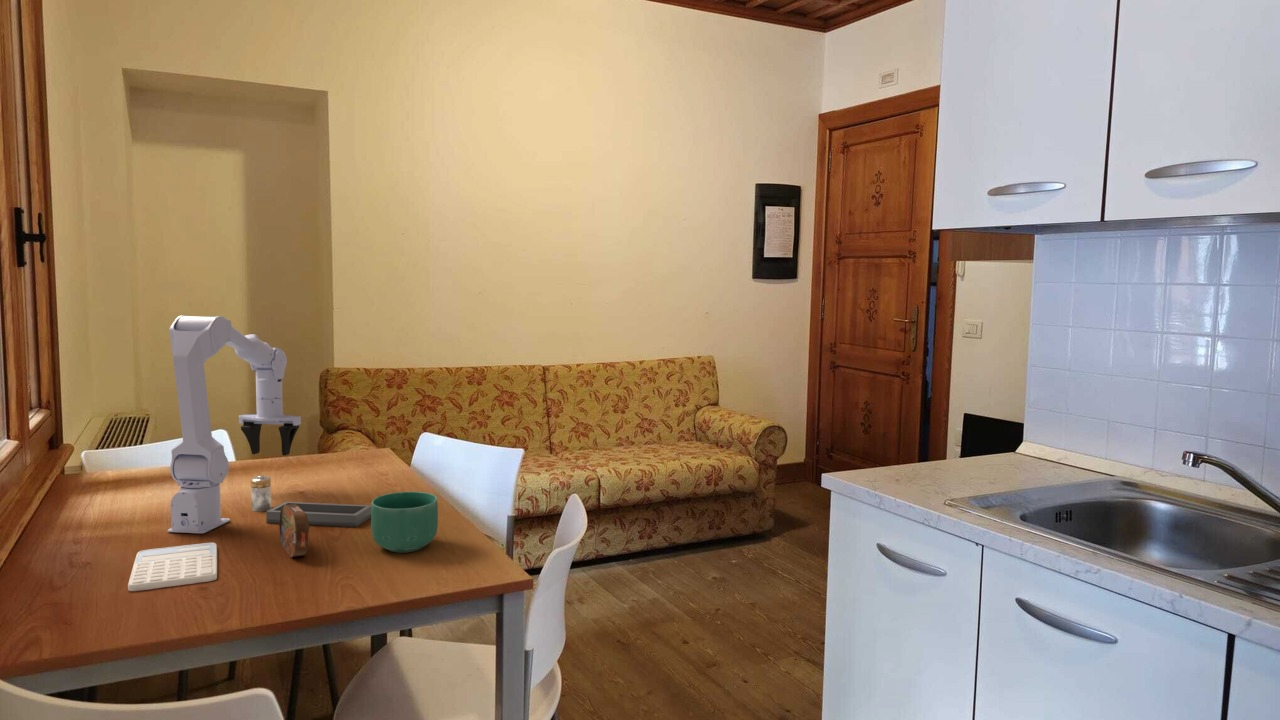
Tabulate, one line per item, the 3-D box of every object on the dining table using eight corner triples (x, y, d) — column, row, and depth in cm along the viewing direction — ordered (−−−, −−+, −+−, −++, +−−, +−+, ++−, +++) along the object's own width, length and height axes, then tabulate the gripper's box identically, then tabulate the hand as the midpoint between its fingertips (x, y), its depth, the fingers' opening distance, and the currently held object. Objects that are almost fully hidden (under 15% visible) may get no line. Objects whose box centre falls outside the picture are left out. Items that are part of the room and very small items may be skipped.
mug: (443, 553, 160) (442, 504, 159) (374, 560, 155) (374, 511, 154) (429, 529, 175) (429, 484, 174) (366, 535, 170) (366, 489, 169)
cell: (265, 511, 185) (264, 478, 185) (247, 511, 186) (246, 477, 185) (275, 506, 190) (274, 474, 189) (258, 506, 190) (257, 473, 189)
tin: (278, 541, 165) (277, 500, 164) (295, 539, 167) (294, 498, 166) (293, 563, 153) (292, 518, 152) (312, 560, 154) (311, 516, 154)
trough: (356, 527, 175) (356, 515, 175) (266, 522, 177) (266, 511, 177) (372, 516, 183) (372, 505, 183) (286, 512, 185) (286, 501, 185)
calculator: (127, 595, 138) (126, 584, 137) (137, 558, 155) (136, 548, 155) (217, 583, 144) (217, 572, 144) (217, 549, 161) (216, 539, 161)
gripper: (306, 396, 201) (308, 451, 202) (250, 394, 202) (251, 449, 204) (291, 400, 194) (293, 457, 195) (233, 398, 195) (234, 455, 197)
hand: (270, 454), depth 199 cm, fingers open, 7 cm apart
